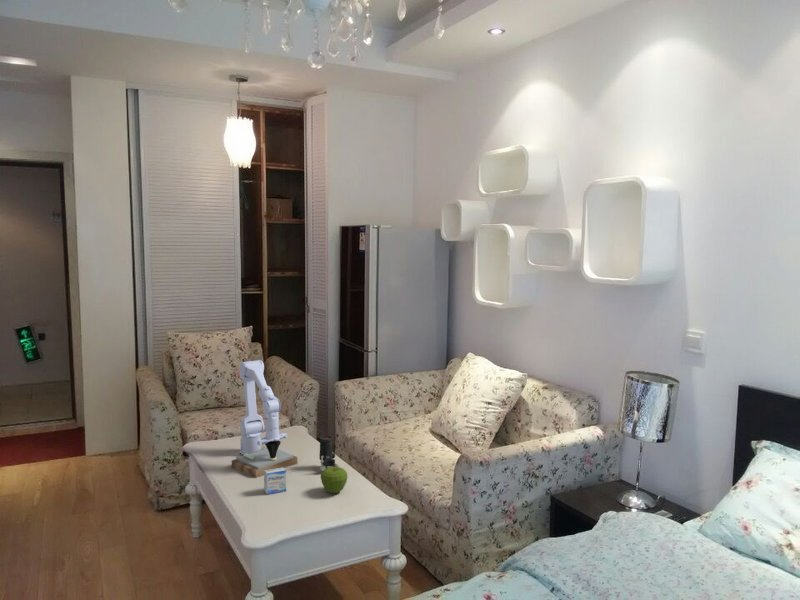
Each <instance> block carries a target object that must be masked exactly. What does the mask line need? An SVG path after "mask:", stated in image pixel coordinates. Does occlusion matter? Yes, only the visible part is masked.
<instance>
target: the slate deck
mask: <svg viewBox="0 0 800 600" xmlns="http://www.w3.org/2000/svg"><path fill="white" fill-rule="evenodd" d="M294 456H295V454H292V453H289V452H286V451H284V450H281V449H278V450H277V453H276V458H270V454H269V451H268V449H267V447H264V448H261V450H258V451H255V452H252V453H248V454H247V453H245V454H244V455H243V454H241V455H239V456H236V457H235V459H236V460H237V461H240V462H242V463H244V464H247V465H249V466H251V467H254V468H256V469H261V468H264V467H267V466H270V465H273V464H276V463H279V462H282V461H285V460H288V459H291V458H294Z"/></svg>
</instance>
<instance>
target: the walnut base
mask: <svg viewBox="0 0 800 600" xmlns="http://www.w3.org/2000/svg"><path fill="white" fill-rule="evenodd" d="M297 464H298V456H295V455H294V458H291V459H288V460H285V461H282V462H279V463H276V464H273V465H270V466H267V467H264V468H261V469H256V468H254V467H251V466H249V465H247V464H244V463H242V462H240V461H237V460H236V458H235V459H232V460H231V468H232V469H235V470H237V469H238V470H237V471H239V470H240V472H241V473H244V472H245V473H244V474H246V473H247V475H249V476H250V477H253V478H259V477H262V476H263V477H264V470H270V469H276V468H282V467H283V468H284V469H286V468H288V466H289V467H292V466H293V465H297ZM285 467H286V468H285Z"/></svg>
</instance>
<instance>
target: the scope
mask: <svg viewBox="0 0 800 600" xmlns="http://www.w3.org/2000/svg"><path fill="white" fill-rule="evenodd" d="M318 458H319V460H320V466H319V469H320V471H321V473H322V472H323V470H325V469H327V468H328V467H340V466H339V463H336V460H335V458H336V454H335V452H333V436H332V435H322V436H320V437H319V457H318Z"/></svg>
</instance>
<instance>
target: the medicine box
mask: <svg viewBox="0 0 800 600" xmlns="http://www.w3.org/2000/svg"><path fill="white" fill-rule="evenodd" d="M263 482H264V483H263V488H264V489H263V491H264V492H265V493H266V495H273V494H278V493H283V491H284V492H287V469H286V468H283V467H282V468H276V469H270V470H264V475H263Z"/></svg>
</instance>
